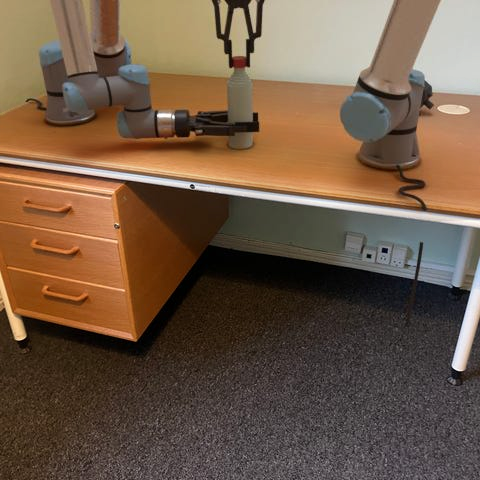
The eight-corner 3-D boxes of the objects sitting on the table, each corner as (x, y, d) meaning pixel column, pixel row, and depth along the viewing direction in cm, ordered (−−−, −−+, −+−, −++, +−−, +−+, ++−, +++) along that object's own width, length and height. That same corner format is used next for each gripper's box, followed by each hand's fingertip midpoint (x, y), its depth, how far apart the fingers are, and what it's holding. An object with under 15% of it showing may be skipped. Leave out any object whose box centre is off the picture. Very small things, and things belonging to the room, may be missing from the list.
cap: (247, 67, 137) (247, 59, 135) (231, 68, 136) (231, 59, 135) (246, 63, 140) (246, 55, 139) (231, 64, 140) (230, 56, 139)
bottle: (257, 143, 150) (257, 59, 138) (243, 150, 146) (242, 65, 133) (237, 138, 154) (236, 56, 141) (223, 145, 149) (220, 61, 137)
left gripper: (179, 124, 157) (257, 122, 157) (172, 150, 140) (260, 148, 140) (177, 99, 153) (257, 97, 153) (170, 122, 136) (260, 121, 136)
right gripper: (270, -37, 130) (269, 61, 142) (201, -35, 128) (206, 64, 141) (275, -34, 123) (273, 68, 136) (202, -32, 122) (207, 71, 134)
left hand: (258, 122), depth 146 cm, fingers closed on bottle, 7 cm apart
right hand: (239, 66), depth 138 cm, fingers closed on cap, 4 cm apart
